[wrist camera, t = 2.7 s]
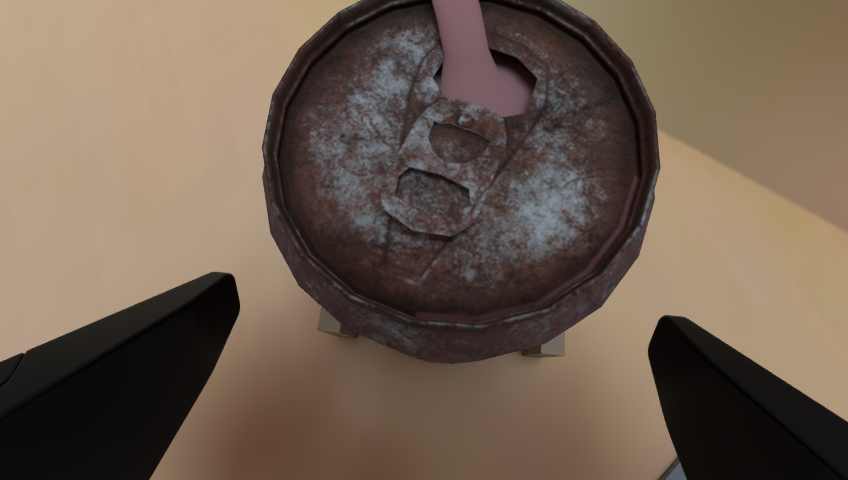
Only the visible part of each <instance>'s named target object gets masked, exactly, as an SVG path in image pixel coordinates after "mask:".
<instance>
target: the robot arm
mask: <svg viewBox="0 0 848 480" xmlns="http://www.w3.org/2000/svg"><path fill="white" fill-rule="evenodd" d="M239 311H240V301H239V296H238V291H237V286H236V281H235V278H234V276H233V275H232V274H230V273H223V272H211V273H208V274H206V275H204V276H201V277H199V278H197V279H194V280H192V281H189V282H187V283H185V284H182V285H180V286H178V287H175V288H173V289H171V290H168V291H166V292H164V293H161V294H159V295H157V296H154V297H152V298H150V299H147V300H145V301H143V302H140V303H138V304H135V305H133V306H131V307H128V308H126V309H124V310H121V311H119V312H117V313H114V314H112V315H110V316H107V317H105V318H103V319H100V320H98V321H96V322H93V323H91V324H89V325H86V326H84V327H81V328H79V329H77V330H74V331H72V332H70V333H67V334H65V335H63V336H60V337H58V338H56V339H53V340H51V341H49V342H46V343H44V344H42V345H39V346H37V347H34V348H32V349H30V350H28V351H26V353H25V354H24V353H20V354H18V355H15V356H13V357H11V358H8V359H6V360H4V361H1V362H0V480H149V479H150V478H151V476H152V474H153V473H154V471H155V469H156V467H157V466H158V464H159V462H160V461H161V459H162V457H163V456H164V454H165V452H166V451H167V449H168V447H169V445H170V444H171V442H172V440H173V439H174V437H175V435H176V434H177V432H178V430H179V429H180V427H181V425H182V424H183V422H184V420H185V418H186V417H187V415H188V413H189V412H190V410H191V408H192V407H193V405H194V403H195V402H196V400H197V398H198V396H199V395H200V393H201V391H202V390H203V388H204V386H205V385H206V383H207V381H208V379H209V377H210V376H211V374H212V372H213V370H214V368H215V366H216V363H217V361H218V359H219V357H220V355H221V352H222V350H223V348H224V346H225V344H226V341H227V339H228V337H229V335H230V333H231V330H232V328H233V326H234V324H235V322H236V319H237V317H238V315H239ZM648 357H649V361H650V365H651V369H652V373H653V377H654V381H655V384H656V388H657V392H658V396H659V400H660V404H661V408H662V412H663V415H664V419H665V422H666V426H667V429H668V431H669V434H670V437H671V440H672V442H673V445H674V448H675V450H676V453H677V456H678V458H679V461H680V463H681V466H682V469H683V471H684V474H685V477H686V479H687V480H848V422H847V421H846V420H844V419H842V418H841V417H839V416H838V415H836V414H835V413H833V412H832V411H830V410H828V409H827V408H825V407H824V406H822V405H821V404H819V403H818V402H816V401H814V400H813V399H811V398H810V397H808V396H807V395H805V394H804V393H802V392H801V391H799V390H797V389H796V388H794V387H793V386H791V385H790V384H788V383H787V382H785V381H783V380H782V379H780V378H779V377H777V376H776V375H774V374H773V373H771V372H769V371H768V370H766V369H765V368H763V367H762V366H760V365H759V364H757V363H756V362H754V361H752V360H751V359H749V358H748V357H746V356H745V355H743V354H742V353H740V352H738V351H737V350H735V349H734V348H732V347H731V346H729V345H728V344H726V343H725V342H723V341H721V340H720V339H718V338H717V337H715V336H714V335H712V334H711V333H709V332H707V331H706V330H704V329H703V328H701V327H700V326H698V325H697V324H695V323H694V322H692V321H690V320H689V319H687V318H685V317H681V316H671V315H664V316H662V317H661V318H660V319H659V321H658V323H657V326H656V328H655V331H654V333H653V336H652V338H651V341H650V343H649V347H648Z"/></svg>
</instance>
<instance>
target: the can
mask: <svg viewBox="0 0 848 480" xmlns="http://www.w3.org/2000/svg"><path fill="white" fill-rule="evenodd" d="M262 151H263V158H264V164H265V166H264V171H263V176H262V178H263V185H264V192H265V199H266V205H267V212H268V219H269V226H270V233H271V235H272V237H273V238H274V240H275V242H276V244H277V246H278V248H279V250H280V251H281V253H282V255H283V257H284V259H285V261H286V263H287V264H288V266H289V268H290V270H291V272H292V274H293V276H294V278H295V279H296V281H297V283H298V285H299V286H300V287H301V288H302V289H303V290H304V291H305V292H306V293H307V294H309V295H310V296H311V297H312V298H313V299H314V300H315V301H316V302H317V303H318V304H320V305H321V306H322V307H323V308H324V309H325V310H326V311H327V312H328V313H330V314H331V315H332V316H333V317H334V318H335V319H336V320H337V321H338V322H339V323H341V324H342V325H343V326H344V327H345V328H346V329H348V330H350V331H353V332H355V333H357V334H360V335H362V336H364V337H367V338H369V339H371V340H374V341H376V342H378V343H381V344H383V345H386V346H388V347H390V348H393V349H395V350H397V351H400V352H402V353H404V354H407V355H409V356H412V357H415V358H418V359H421V360H424V361H428V362H436V363H449V364H454V363H463V362H473V361H480V360H484V359H488V358H492V357H496V356H499V355H503V354H507V353H511V352H515V351H519V350H523V349H527V348H531V347H535V346H539V345H543V344H546V343H548V342H549V341H551V340H552V339H554V338H555V337H557V336H558V335H560V334H561V333H563V332H564V331H566V330H567V329H569V328H570V327H572V326H573V325H575V324H576V323H578V322H579V321H581V320H582V319H584V318H585V317H587V316H588V315H590V314H591V313H593V312H594V311H596V310H597V309H599V308H600V307H602V305H603V304H604V303H605V301H606V300H607V298H608V297H609V296H610V294H611V293H612V292H613V290H614V289H615V288H616V286H617V285H618V283H619V282H620V281H621V279H622V278H623V277H624V275H625V274H626V273H627V271H628V270H629V268H630V267H631V266H632V264H633V263H634V262H635V260H636V259H637V258H638V256H639V253H640V250H641V246H642V243H643V239H644V236H645V232H646V228H647V225H648V221H649V218H650V214H651V211H652V207H653V204H654V200H655V193H654V189H655V185H656V182H657V178H658V174H659V171H660V158H659V147H658V135H657V124H656V113H655V110H654V108H653V106H652V103H651V101H650V99H649V97H648V94H647V92H646V90H645V88H644V86H643V84H642V81H641V79H640V77H639V75H638V73H637V71H636V69H635V66H634V64H633V62H632V60H631V59H630V58H629V57H628V56H627V55H626V54H625V53H624V52H623V51H622V50H621V49H620V48H619V46H618V45H617V44H616V43H615V42H614V41H613V40H612V39H611V38H610V37H609V36H608V35H607V33H605V31H604V30H603V29H602V28H601V27H600V26H599V25H598V24H597V23H596V22H595V21H594V20H593V19H591V18H589V17H588V16H586V15H584V14H583V13H581V12H579V11H578V10H576V9H574V8H573V7H571V6H569V5H568V4H566V3H564V2H563V1H561V0H361V1H359V2H357V3H355V4H353V5H351V6H349V7H347V8H345V9H343V10H341V11H340V12H338V13H337V14H336V15H335V16H334V17H333V18H331V19H330V20H329V21H328V22H327V23H326V24H325V25H324V26H323V27H322V28H321V29H320V30H319V31H317V32H316V33H315V34H314V35H313V36H312V37H311V38H310V39H309V40H308V41H307V42H306V43H304V44H303V45H302V46H301V47H300V48H299V50H298V51H297V53H296V55H295V57H294V58H293V60H292V62H291V63H290V65H289V67H288V69H287V70H286V72H285V74H284V76H283V77H282V79H281V81H280V82H279V84H278V86H277V88H276V89H275V91H274V93H273V95H272V100H271V105H270V110H269V115H268V120H267V125H266V130H265V135H264V140H263V145H262Z"/></svg>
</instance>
